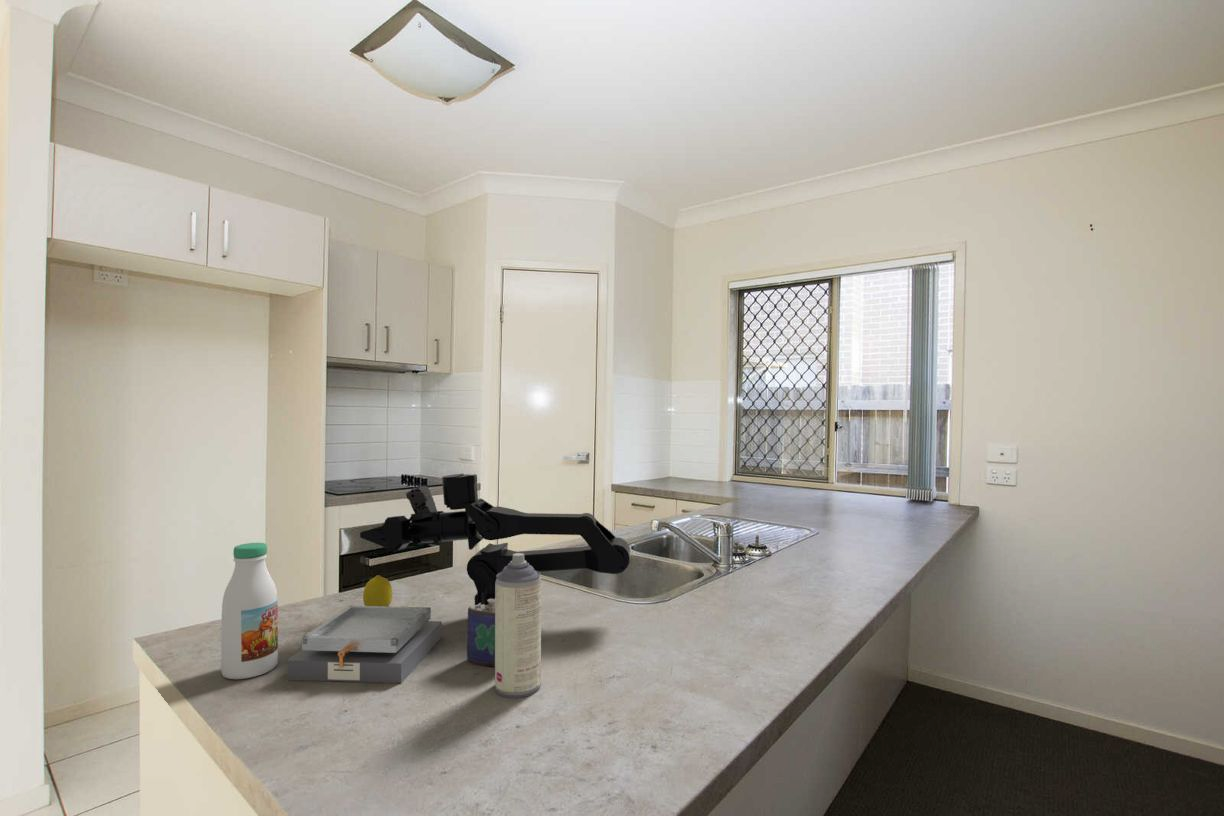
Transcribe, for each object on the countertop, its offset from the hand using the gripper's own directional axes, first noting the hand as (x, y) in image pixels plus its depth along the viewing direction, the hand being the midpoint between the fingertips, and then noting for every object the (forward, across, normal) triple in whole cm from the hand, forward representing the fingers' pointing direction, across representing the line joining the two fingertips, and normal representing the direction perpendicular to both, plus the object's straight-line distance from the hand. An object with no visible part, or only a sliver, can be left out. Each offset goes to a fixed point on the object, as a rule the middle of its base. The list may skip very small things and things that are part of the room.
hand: (371, 532), depth 121 cm
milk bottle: (+9, +24, +19) cm, 32 cm away
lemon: (0, -2, +17) cm, 17 cm away
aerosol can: (-35, +26, +23) cm, 49 cm away
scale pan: (-8, +19, +17) cm, 27 cm away
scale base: (-8, +18, +20) cm, 28 cm away
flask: (-29, +19, +22) cm, 41 cm away
